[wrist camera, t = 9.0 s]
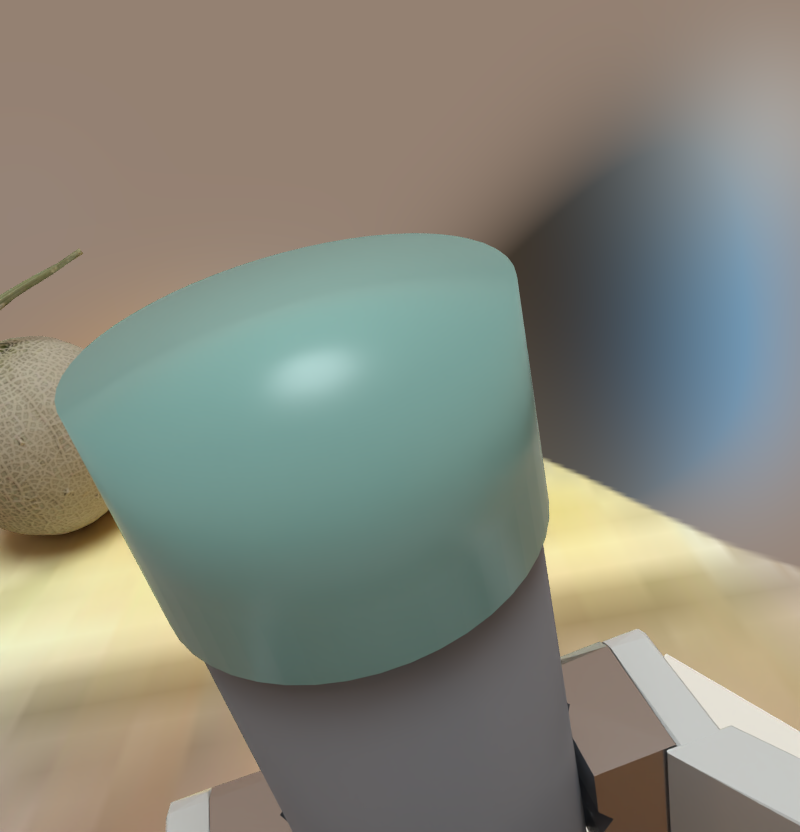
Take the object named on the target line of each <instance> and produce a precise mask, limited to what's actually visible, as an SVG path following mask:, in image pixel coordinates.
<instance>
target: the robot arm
mask: <svg viewBox="0 0 800 832" xmlns="http://www.w3.org/2000/svg"><path fill="white" fill-rule="evenodd" d="M560 659H561V666H562V672H563V679H564V685H565V692H566V699H567V705H568V712H569V718H570V725H571V731H572V738H573V744H574V751H575V758H576V764H577V771H578V777H579V784H580V790H581V797H582V804H583V810H584V817H585V823H586V827H587V829H588V831H589V832H800V758H798V757H796V756H794V755H792V754H790V753H788V752H786V751H784V750H782V749H780V748H777V747H775V746H773V745H771V744H769V743H767V742H765V741H763V740H761V739H759V738H757V737H755V736H752V735H750V734H748V733H746V732H744V731H742V730H740V729H738V728H736V727H734V726H732V725H731V726H728V727H725V728H722V729H720V728H719V727H718V726H717V725H716V723H715V722H714V721H713V719H712V718H711V717H710V716H709V714H708V713H707V712H706V710H705V709H704V708H703V707H702V705H701V704H700V703H699V701H698V700H697V699H696V698H695V696H694V695H693V694H692V692H691V691H690V690H689V689H688V687H687V686H686V685H685V683H684V682H683V681H682V680H681V678H680V677H679V676H678V674H677V673H676V672H675V671H674V669H673V668H672V667H671V665H670V664H669V663H668V662H667V660H666V659H665V658H664V656H663V655H662V654H661V653H660V651H659V650H658V649H657V647H656V646H655V645H654V644H653V642H652V641H651V640H650V638H649V637H648V636H647V635H646V633H644V632H642V631H641V630H639V629H635V630H632V631H629V632H627V633H624V634H621V635H619V636H616V637H614V638H611V639H608V640H606V641H603V642H602V643H600V642H598V643H595V644H592V645H590V646H587V647H585V648H582V649H580V650H577V651H575V652H572V653H569V654H567V655H564V656H562V657H560ZM166 832H292V830H291V828H290V826H289V824H288V822H287V820H286V818H285V816H284V814H283V812H282V810H281V808H280V806H279V805H278V803H277V801H276V799H275V797H274V795H273V793H272V791H271V789H270V787H269V785H268V783H267V781H266V779H265V778H264V776H263V774H262V772H261V771H259V772H256V773H253V774H250V775H247V776H244V777H241V778H238V779H236V780H233V781H230V782H227V783H224V784H221V785H218V786H215V787H212V788H209V789H207V790H204V791H201V792H198V793H196V794H193V795H190V796H188V797H185V798H182V799H179V800H177V801H174V802H171V804H170V808H169V811H168V814H167V817H166Z"/></svg>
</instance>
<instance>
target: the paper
mask: <svg viewBox="0 0 800 832" xmlns="http://www.w3.org/2000/svg"><path fill="white" fill-rule="evenodd" d="M664 658H665V659H666V660H667V662H668V663H669V664H670V665H671V667H672V668H673V669H674V671H675V672H676V673H677V674H678V676H679V677H680V678H681V680H682V681H683V682H684V683H685V685H686V686H687V687H688V689H689V690H690V691H691V692H692V694H693V695H694V696H695V698H696V699H697V700H698V701H699V703H700V704H701V705H702V707H703V708H704V709H705V710H706V712H707V713H708V714H709V716H710V717H711V718H712V719H713V721H714V722H715V723H716V725H717V726H718V727H719V728H720V729H722V728H725V727H728V726H731V725H732V726H734V727H736V728H738V729H740V730H742V731H744V732H746V733H748V734H750V735H752V736H755V737H757V738H759V739H761V740H763V741H765V742H767V743H769V744H771V745H773V746H775V747H777V748H780V749H782V750H784V751H786V752H788V753H790V754H792V755H794V756H796V757H798V758H800V731H798V730H796V729H794V728H793V727H791V726H789V725H788V724H786V723H784V722H783V721H781V720H779V719H777V718H776V717H774V716H772V715H771V714H769V713H767V712H765V711H764V710H762V709H760V708H759V707H757V706H755V705H753V704H752V703H750V702H748V701H747V700H745V699H743V698H741V697H740V696H738V695H736V694H735V693H733V692H731V691H729V690H728V689H726V688H724V687H723V686H721V685H719V684H717V683H716V682H714V681H712V680H711V679H709V678H707V677H705V676H704V675H702V674H700V673H699V672H697V671H695V670H693V669H692V668H690V667H688V666H687V665H685V664H683V663H682V662H680V661H678V660H676V659H675V658H673V657H671V656H670V655H668V654H666V655H665V656H664ZM586 830H587V832H589V831H588V829H587V827H586Z"/></svg>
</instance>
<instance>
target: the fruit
mask: <svg viewBox="0 0 800 832" xmlns="http://www.w3.org/2000/svg"><path fill="white" fill-rule="evenodd" d="M82 254H83V253H82V251H81V250H80V249H77V250H76V251H75V252H73V253H72V254H70V255H69V256H67V257H66V258H64V259H63V260H62V261H60V262H59V263H57V264H55V265H53V266H51V267H49V268H47V269H46V270H44V271H42V272H40V273H38V274H36V275H34V276H32V277H31V278H29V279H27V280H25V281H23V282H22V283H20V284H18V285H17V286H15V287H13V288H11V289H10V290H8V291H6V292H5V293H3V294H1V295H0V310H1V309H2V308H3V307H5V306H6V305H7V304H8V303H9V302H11V301H12V300H13V299H14V298H16V297H17V296H19V295H20V294H22V293H23V292H25V291H26V290H28V289H29V288H31V287H32V286H34V285H36V284H38V283H39V282H41V281H42V280H44V279H46V278H47V277H49V276H50V275H52V274H53V273H55V272H56V271H58V270H59V269H61V268H62V267H64V266H65V265H66V264H68V263H69V262H71V261H72V260H74V259H75V258H77V257H78V256H80V255H82ZM83 350H84V349H82V348H80V347H78V346H76V345H74V344H71V343H68V342H64V341H62V340H59V339H56V338H50V337H42V336H40V337H30V336H29V337H20V338H10V339H7V340H4V341H1V342H0V528H2V529H5V530H8V531H11V532H14V533H19V534H26V535H58V534H65V533H69V532H72V531H75V530H78V529H80V528H82V527H85V526H87V525H89V524H91V523H93V522H95V521H96V520H97V519H99V518H100V517H101V516H102V515H104V514H105V513H106V512H107V511H108V510H109V509H108V507H107V505H106V504H105V502H104V500H103V498H102V496H101V494H100V492H99V490H98V489H97V487H96V485H95V483H94V481H93V479H92V477H91V475H90V474H89V472H88V470H87V468H86V466H85V464H84V462H83V460H82V459H81V457H80V455H79V453H78V451H77V449H76V447H75V445H74V444H73V442H72V440H71V438H70V436H69V434H68V432H67V430H66V429H65V427H64V425H63V423H62V421H61V419H60V417H59V415H58V414H57V410H56V406H55V401H54V400H55V393H56V388H57V386H58V383H59V381H60V379H61V377H62V375H63V374H64V372H65V371H66V369H67V368H68V367H69V365H70V364H71V362H72V361H73V360H74V359H75V358H76V357H77V356H78V355H79V354H80V353H81V352H82V351H83Z"/></svg>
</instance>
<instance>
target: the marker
mask: <svg viewBox="0 0 800 832" xmlns="http://www.w3.org/2000/svg"><path fill="white" fill-rule="evenodd" d="M54 401H55V406H56V410H57V414H58V415H59V417H60V419H61V421H62V423H63V425H64V427H65V429H66V430H67V432H68V434H69V436H70V438H71V440H72V442H73V444H74V445H75V447H76V449H77V451H78V453H79V455H80V457H81V459H82V460H83V462H84V464H85V466H86V468H87V470H88V472H89V474H90V475H91V477H92V479H93V481H94V483H95V485H96V487H97V489H98V490H99V492H100V494H101V496H102V498H103V500H104V502H105V504H106V505H107V507H108V509H109V511H110V513H111V515H112V517H113V519H114V520H115V522H116V524H117V526H118V528H119V530H120V532H121V534H122V535H123V537H124V539H125V541H126V543H127V545H128V547H129V549H130V550H131V552H132V554H133V556H134V558H135V560H136V562H137V564H138V565H139V567H140V569H141V571H142V573H143V575H144V577H145V579H146V580H147V582H148V584H149V586H150V588H151V590H152V592H153V594H154V596H155V597H156V599H157V601H158V603H159V605H160V607H161V609H162V611H163V612H164V614H165V616H166V618H167V620H168V622H169V624H170V626H171V627H172V629H173V630H174V632H175V634H176V635H177V637H178V638H179V640H180V641H181V642H182V643H183V644H184V645H185V646H186V647H187V648H188V649H189V650H190V651H191V652H192V653H193V654H194V655H195V656H197V657H198V658H200V659H201V660H203V661H204V662H205V664H206V666H207V667H208V669H209V671H210V673H211V675H212V677H213V679H214V681H215V683H216V685H217V687H218V689H219V691H220V693H221V694H222V696H223V698H224V700H225V702H226V704H227V706H228V708H229V710H230V712H231V714H232V716H233V718H234V720H235V722H236V723H237V725H238V727H239V729H240V731H241V733H242V735H243V737H244V739H245V741H246V743H247V745H248V747H249V749H250V750H251V752H252V754H253V756H254V758H255V760H256V762H257V764H258V766H259V768H260V770H261V772H262V774H263V776H264V778H265V779H266V781H267V783H268V785H269V787H270V789H271V791H272V793H273V795H274V797H275V799H276V801H277V803H278V805H279V806H280V808H281V810H282V812H283V814H284V816H285V818H286V820H287V822H288V824H289V826H290V828H291V830H292V832H587V830H586V823H585V817H584V810H583V804H582V797H581V790H580V784H579V777H578V771H577V764H576V758H575V751H574V744H573V738H572V731H571V725H570V718H569V712H568V705H567V699H566V692H565V685H564V679H563V672H562V666H561V659H560V653H559V646H558V639H557V633H556V626H555V620H554V613H553V607H552V600H551V594H550V587H549V580H548V574H547V567H546V561H545V554H544V548H543V543H544V540H545V537H546V533H547V527H548V522H549V500H548V493H547V486H546V478H545V471H544V464H543V457H542V451H541V443H540V437H539V429H538V422H537V416H536V408H535V401H534V394H533V387H532V380H531V373H530V366H529V358H528V352H527V345H526V337H525V330H524V323H523V316H522V309H521V303H520V295H519V288H518V281H517V275H516V272H515V269H514V266H513V264H512V263H511V262H510V260H509V259H508V258H507V256H505V255H504V254H503V253H501V252H500V251H498V250H497V249H495V248H493V247H491V246H489V245H487V244H485V243H482V242H479V241H475V240H472V239H468V238H463V237H457V236H450V235H441V234H419V233H411V234H388V235H377V236H367V237H359V238H351V239H346V240H339V241H333V242H327V243H323V244H318V245H313V246H308V247H304V248H300V249H296V250H292V251H288V252H283V253H280V254H276V255H273V256H270V257H266V258H262V259H259V260H256V261H253V262H249V263H246V264H243V265H240V266H237V267H234V268H232V269H229V270H226V271H223V272H221V273H218V274H215V275H213V276H210V277H208V278H205V279H203V280H200V281H198V282H195V283H193V284H191V285H188V286H186V287H184V288H182V289H179V290H177V291H175V292H173V293H171V294H169V295H167V296H165V297H163V298H161V299H159V300H157V301H155V302H153V303H151V304H149V305H147V306H145V307H144V308H142V309H140V310H138V311H137V312H135V313H133V314H131V315H130V316H128V317H127V318H125V319H124V320H122V321H120V322H119V323H117V324H116V325H114V326H113V327H111V328H110V329H109V330H107V331H106V332H105V333H103V334H102V335H100V336H99V337H98V338H97V339H95V340H94V341H93V342H92V343H91V344H90V345H88V346H87V347H86V348H85V349H84V350H83V351H82V352H81V353H80V354H79V355H78V356H77V357H76V358H75V359H74V360H73V361H72V362H71V364H70V365H69V367H68V368H67V369H66V371H65V372H64V374H63V375H62V377H61V379H60V381H59V383H58V386H57V388H56V393H55V400H54Z"/></svg>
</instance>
